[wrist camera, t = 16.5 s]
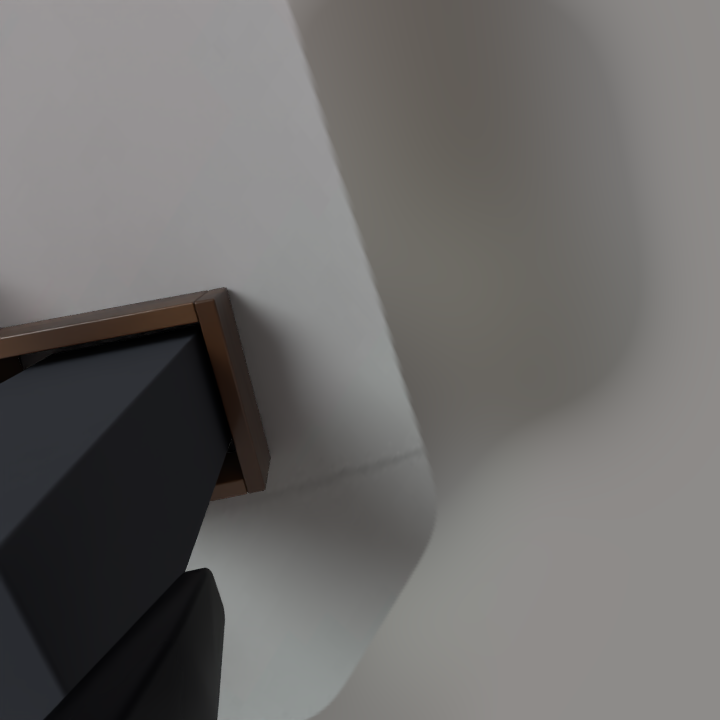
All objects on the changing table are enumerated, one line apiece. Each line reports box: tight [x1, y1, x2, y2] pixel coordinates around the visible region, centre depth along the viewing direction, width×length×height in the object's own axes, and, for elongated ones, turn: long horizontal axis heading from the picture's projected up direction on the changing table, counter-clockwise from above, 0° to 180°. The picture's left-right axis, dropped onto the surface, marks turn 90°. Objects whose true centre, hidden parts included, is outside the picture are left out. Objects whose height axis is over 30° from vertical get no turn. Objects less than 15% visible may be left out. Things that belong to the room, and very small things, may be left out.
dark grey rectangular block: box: [0, 325, 232, 720], centre depth 13 cm, size 6×4×13 cm
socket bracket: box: [0, 287, 271, 501], centre depth 18 cm, size 9×8×2 cm
